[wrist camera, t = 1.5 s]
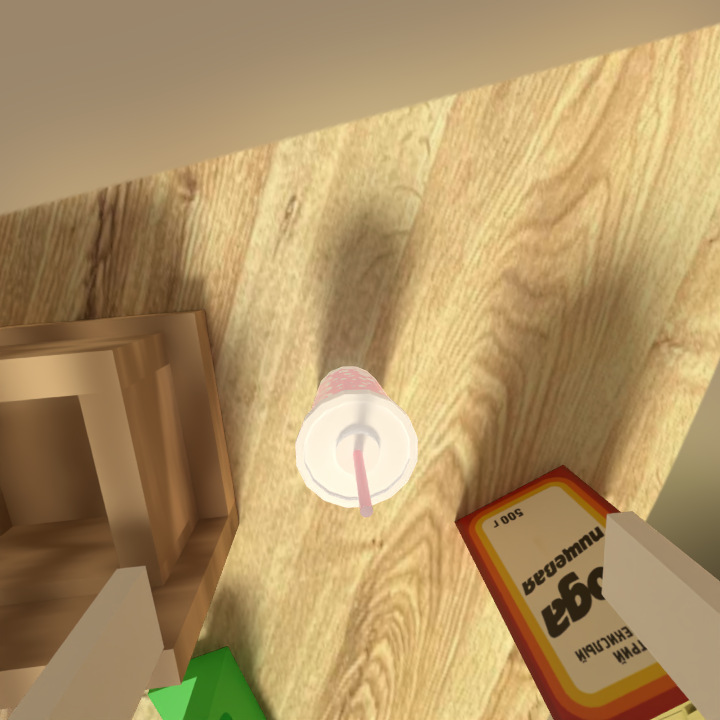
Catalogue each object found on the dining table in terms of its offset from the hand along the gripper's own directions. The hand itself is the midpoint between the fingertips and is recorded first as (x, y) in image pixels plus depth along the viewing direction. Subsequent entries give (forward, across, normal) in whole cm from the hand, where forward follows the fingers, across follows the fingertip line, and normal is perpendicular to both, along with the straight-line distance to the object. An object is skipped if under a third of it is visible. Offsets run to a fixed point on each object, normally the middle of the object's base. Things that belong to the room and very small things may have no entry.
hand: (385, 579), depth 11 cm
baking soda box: (+18, +13, -12) cm, 25 cm away
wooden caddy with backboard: (+17, -18, -1) cm, 25 cm away
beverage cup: (+18, 0, 0) cm, 18 cm away
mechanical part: (+18, -13, -26) cm, 34 cm away
